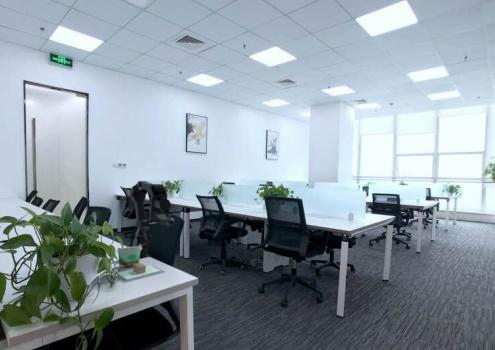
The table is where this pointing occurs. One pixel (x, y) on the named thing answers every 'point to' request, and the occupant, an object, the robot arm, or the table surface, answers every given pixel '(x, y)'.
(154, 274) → the mat
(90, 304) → the table surface
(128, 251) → the food container
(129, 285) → the table surface
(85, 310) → the table surface
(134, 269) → the lid
